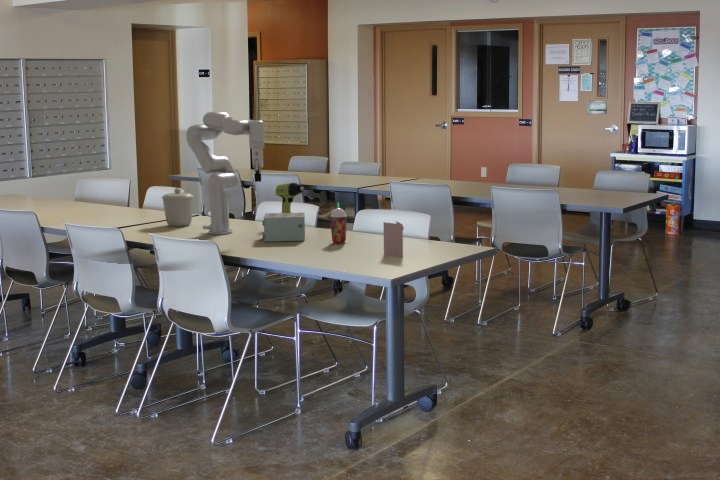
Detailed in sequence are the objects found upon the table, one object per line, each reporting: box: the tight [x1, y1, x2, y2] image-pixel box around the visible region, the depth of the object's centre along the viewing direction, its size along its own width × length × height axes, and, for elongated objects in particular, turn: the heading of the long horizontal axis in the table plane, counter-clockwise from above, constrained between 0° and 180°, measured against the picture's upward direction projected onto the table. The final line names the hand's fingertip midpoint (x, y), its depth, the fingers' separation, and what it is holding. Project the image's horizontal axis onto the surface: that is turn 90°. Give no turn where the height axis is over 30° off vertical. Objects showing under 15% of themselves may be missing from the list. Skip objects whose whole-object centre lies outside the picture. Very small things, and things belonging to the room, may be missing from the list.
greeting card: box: [383, 220, 405, 258], centre depth 429 cm, size 11×7×15 cm, turn 12°
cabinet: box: [263, 212, 306, 242], centre depth 481 cm, size 20×16×12 cm
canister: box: [161, 187, 195, 228], centre depth 529 cm, size 18×18×21 cm
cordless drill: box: [274, 182, 305, 213], centre depth 512 cm, size 23×7×25 cm, turn 40°
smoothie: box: [329, 202, 348, 245], centre depth 464 cm, size 8×8×20 cm
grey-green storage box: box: [262, 216, 306, 242], centre depth 471 cm, size 21×3×12 cm, turn 93°
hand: (258, 181), depth 479 cm, fingers closed
